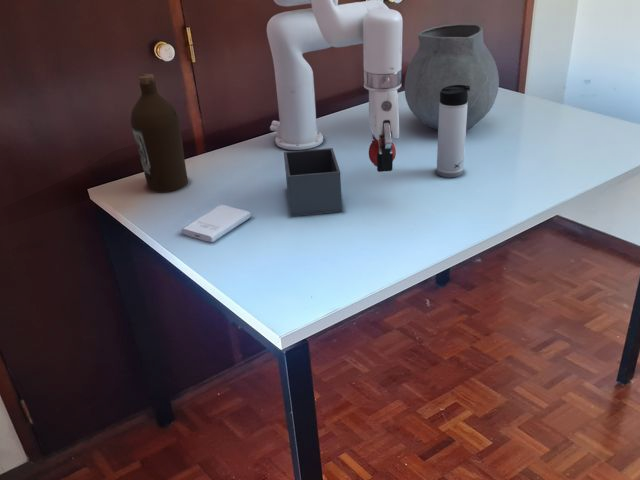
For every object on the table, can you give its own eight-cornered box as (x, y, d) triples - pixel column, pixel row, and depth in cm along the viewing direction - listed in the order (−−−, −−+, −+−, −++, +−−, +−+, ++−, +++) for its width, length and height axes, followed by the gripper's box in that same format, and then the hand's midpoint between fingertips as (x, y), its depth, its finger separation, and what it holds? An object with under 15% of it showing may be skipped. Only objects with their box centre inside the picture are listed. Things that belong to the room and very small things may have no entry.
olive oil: (184, 172, 173) (164, 66, 158) (195, 187, 166) (176, 78, 151) (141, 180, 170) (116, 73, 155) (150, 197, 162) (125, 86, 147)
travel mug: (463, 178, 164) (469, 91, 152) (435, 177, 166) (438, 90, 154) (465, 168, 169) (471, 82, 157) (437, 166, 170) (441, 81, 158)
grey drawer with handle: (286, 181, 167) (282, 144, 161) (332, 177, 168) (330, 140, 162) (291, 216, 152) (287, 176, 146) (342, 211, 153) (340, 172, 147)
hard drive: (250, 218, 152) (212, 243, 143) (221, 210, 155) (182, 234, 147) (249, 211, 151) (211, 236, 142) (220, 204, 154) (181, 227, 146)
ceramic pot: (433, 106, 206) (436, 13, 191) (510, 120, 194) (520, 22, 179) (387, 132, 190) (386, 33, 175) (467, 149, 179) (474, 45, 164)
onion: (396, 174, 150) (396, 137, 145) (368, 174, 150) (368, 138, 145) (394, 163, 154) (395, 127, 150) (368, 163, 155) (368, 127, 150)
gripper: (409, 91, 134) (407, 180, 145) (393, 64, 148) (392, 147, 159) (370, 93, 133) (371, 182, 145) (357, 66, 147) (359, 150, 158)
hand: (382, 163), depth 151 cm, fingers closed on onion, 6 cm apart
